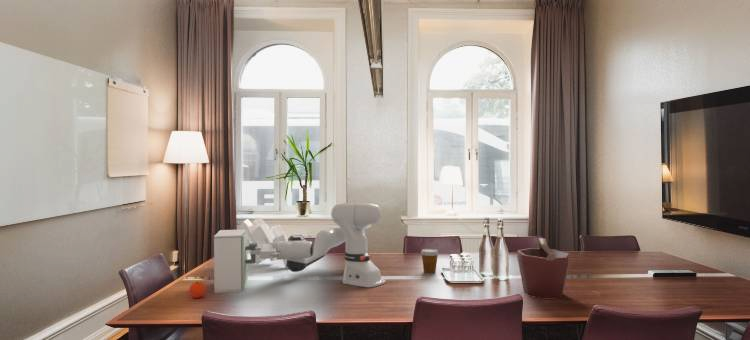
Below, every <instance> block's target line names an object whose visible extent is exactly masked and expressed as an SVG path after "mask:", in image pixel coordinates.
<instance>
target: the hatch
mask: <svg viewBox="0 0 750 340" xmlns="http://www.w3.org/2000/svg"><path fill="white" fill-rule="evenodd" d="M256 247H257V243H250V244H249V246H247V230H245V232H244V234H243V235H242V290H245V288H246V284H247V282H248V278H249V277H248V276H249V275H248V274H249V273H248V271H249V269H248V268H249V267H248V264H256V255H255V254H251V256H250V259H248V256H249V255H248V253H249V250H256Z"/></svg>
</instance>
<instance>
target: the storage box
mask: <svg viewBox="0 0 750 340" xmlns="http://www.w3.org/2000/svg"><path fill="white" fill-rule="evenodd" d="M244 232H245V229H220V230H219V231H218V232H217V233H216V234H214V235H213V273H214V274H213V280H214V281H213V282H214V283H213V287H214V288H213V289H214V291H213V292H214V294H216V293H217V294H219V293H235V292H239V293H240V292H242V291H243V289H242V235H243V234H244Z"/></svg>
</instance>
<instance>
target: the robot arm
mask: <svg viewBox="0 0 750 340" xmlns="http://www.w3.org/2000/svg"><path fill="white" fill-rule="evenodd" d="M330 216H331V219H332V221H333V222H334V223H335V224H336V225H337V226H338V227H329V228H324V229H321V230H320V231H319V232H318V233H317V234H316V235H315V238H314V242H313V241H311V240H309V241H308V240H306V238H305V237H304V236H303V235H302V234H297V235H296V234H295V235H294V234H292V235H290V236H289V237H288V238H289V239H288V241H277V243H276V242H274V243H265V244H262V246H261V248H256V250H251V254H255V255H260V259H265V260H267V259H269V260H270V258H276V257H277V259H276V260H278V261H279V260H283V259H287V263H286V266H287V267H286V268H287V269H288V270H289V271H291V272H293V273H296V272H297V273H298V272H302V271H304V270H305V269H306V268H308V267H309V266H310V265H312V264H314V263H316V262H318V261H319V260H321V259H322V258H324V257H326V255H327V253H328V252H329V250H330V249H332V248H335V247H338V246H340V245H342V244H343V243H345V244H344V245H345V252H344V260H345V261H344V262H345V263H344V264H345V265H344V269H343V270H344V271H343V276H342V284H344V285H351V286H356V287H362V288H363V287H364V288H374V287H378V286H380V285H384V284H386V279H384V278H382V275H381V270H380V268H378V267H377V266H376V265H375V263H374V262H373V261H372V260H371V258H372V254H369V252H368V237H367V236H368V235H367V234H366V232H365V230H368V229H369V228H371V226H375V225H377V224H379V223H380V222H381V220H382V218H383V217H382V216H383V212H382V209H381V207H380V206H379V205H378V204H374V203H364V202H363V203H361V202H360V203H358V202H357V203H356V202H351V203H350V202H344V203H343V202H342V203H337V204H334V206H333V207H332V209H331V213H330Z"/></svg>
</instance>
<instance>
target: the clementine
mask: <svg viewBox="0 0 750 340" xmlns="http://www.w3.org/2000/svg"><path fill="white" fill-rule="evenodd" d="M207 285H208V284H207V283H206V282H203V281H196V282H193V283H192V284H191V285H190V287H189V289H188V290H189V291H188V292H189V294H190V295H189V296H191V297H192V298H194V299H195V298H196V299H199V298H202V297H203V296H204V295H205V294H206V292H207V287H206V286H207Z"/></svg>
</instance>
